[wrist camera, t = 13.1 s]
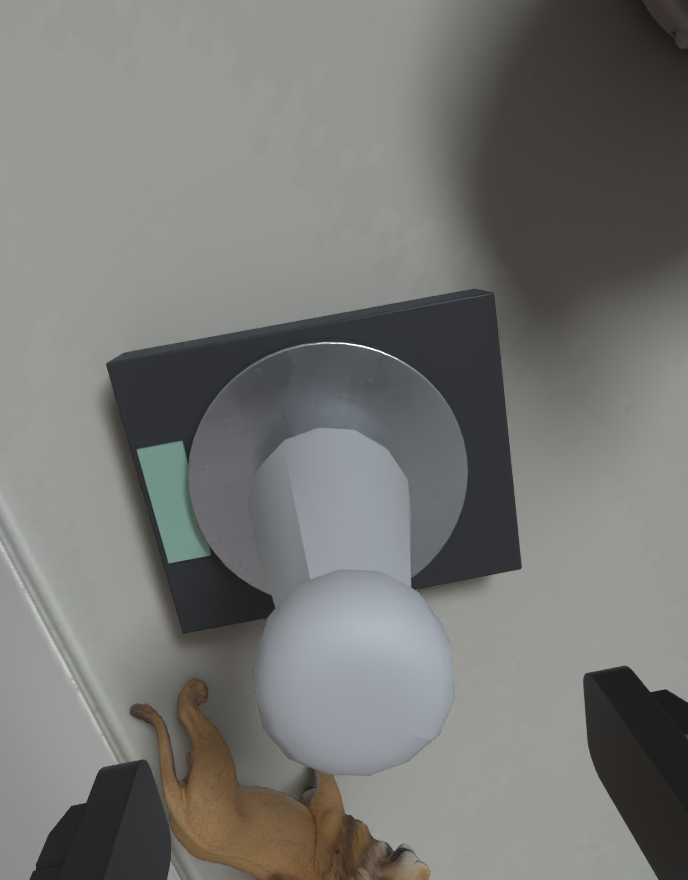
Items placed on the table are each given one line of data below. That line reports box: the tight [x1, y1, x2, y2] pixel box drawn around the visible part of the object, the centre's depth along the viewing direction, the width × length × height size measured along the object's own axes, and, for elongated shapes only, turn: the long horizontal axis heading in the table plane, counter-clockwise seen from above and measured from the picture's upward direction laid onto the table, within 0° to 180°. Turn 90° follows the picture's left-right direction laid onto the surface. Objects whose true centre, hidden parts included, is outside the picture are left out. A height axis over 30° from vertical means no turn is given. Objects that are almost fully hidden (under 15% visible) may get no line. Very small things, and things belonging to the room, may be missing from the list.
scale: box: [106, 289, 522, 633], centre depth 27 cm, size 15×12×3 cm
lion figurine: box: [130, 680, 430, 880], centre depth 28 cm, size 15×5×9 cm, turn 64°
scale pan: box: [188, 339, 468, 596], centre depth 25 cm, size 11×11×1 cm
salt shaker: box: [246, 428, 455, 776], centre depth 19 cm, size 6×6×13 cm
